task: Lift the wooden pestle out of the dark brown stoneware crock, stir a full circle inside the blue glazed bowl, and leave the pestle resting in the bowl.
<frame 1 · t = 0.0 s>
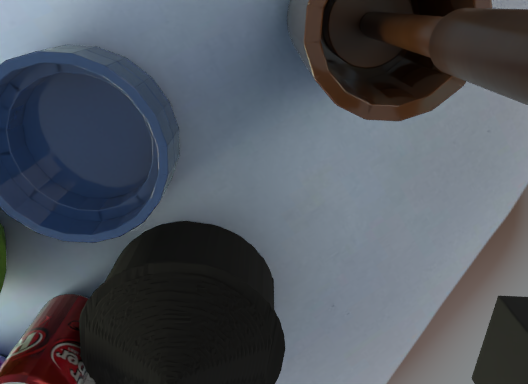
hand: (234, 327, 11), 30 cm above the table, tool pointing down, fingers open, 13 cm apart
bowl: (95, 134, 40), on the table
crock: (339, 17, 36), on the table
wooden pestle: (362, 22, 28), point 9 cm above the table, touching crock
soda can: (78, 316, 48), on the table
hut: (196, 291, 47), on the table
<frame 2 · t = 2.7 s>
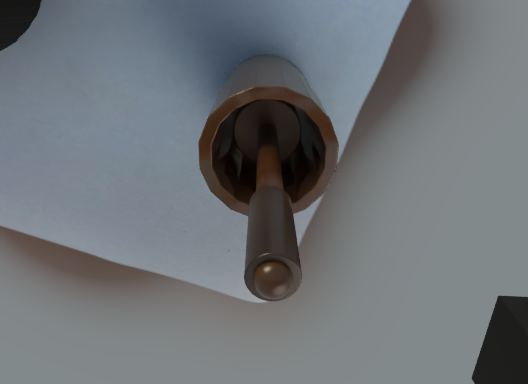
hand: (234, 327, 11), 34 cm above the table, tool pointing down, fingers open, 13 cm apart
crock: (266, 100, 43), on the table
wooden pestle: (267, 123, 34), point 9 cm above the table, touching crock
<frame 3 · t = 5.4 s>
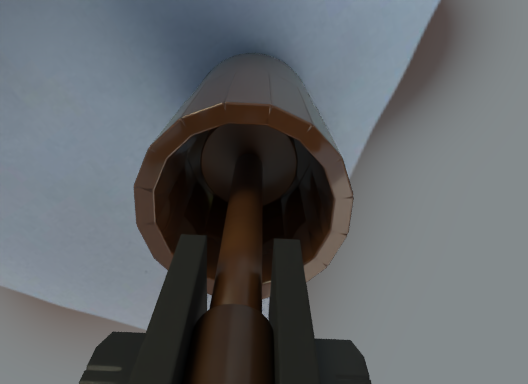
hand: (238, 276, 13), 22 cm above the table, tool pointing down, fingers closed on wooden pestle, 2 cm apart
crock: (252, 112, 33), on the table
wooden pestle: (250, 149, 25), point 9 cm above the table, touching gripper
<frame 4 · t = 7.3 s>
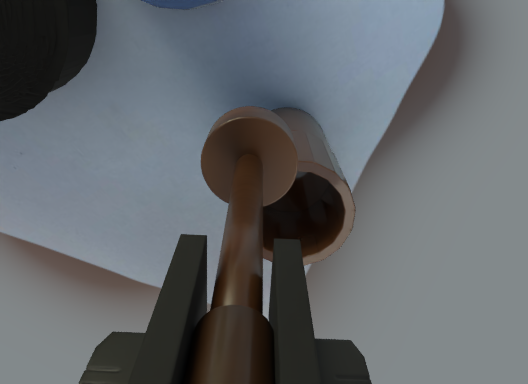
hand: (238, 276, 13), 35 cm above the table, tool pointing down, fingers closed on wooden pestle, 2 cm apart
crock: (285, 146, 48), on the table
wooden pestle: (250, 149, 25), point 22 cm above the table, touching gripper
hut: (8, 8, 42), on the table
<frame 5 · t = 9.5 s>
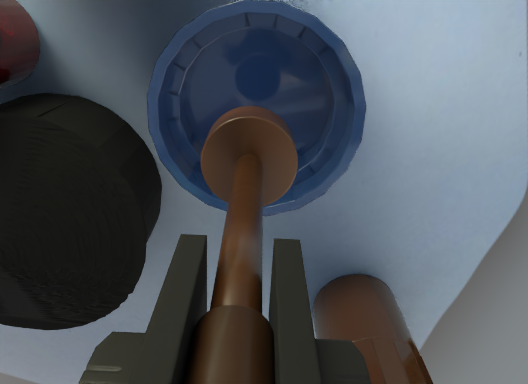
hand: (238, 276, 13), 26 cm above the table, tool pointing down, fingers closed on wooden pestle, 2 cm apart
bowl: (257, 101, 37), on the table
crock: (353, 308, 45), on the table
wooden pestle: (250, 149, 25), point 13 cm above the table, touching gripper
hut: (69, 188, 40), on the table
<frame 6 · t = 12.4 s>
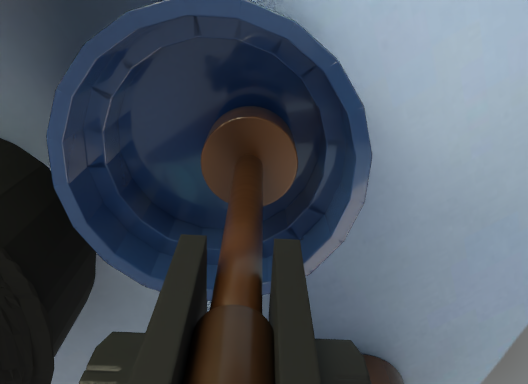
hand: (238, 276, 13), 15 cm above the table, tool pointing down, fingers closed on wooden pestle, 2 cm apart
bowl: (221, 136, 27), on the table
wooden pestle: (250, 149, 25), point 2 cm above the table, touching gripper
when the fingers open (13 cm above the table, at t = 13.9 s): wooden pestle stays where it is, resting on bowl.
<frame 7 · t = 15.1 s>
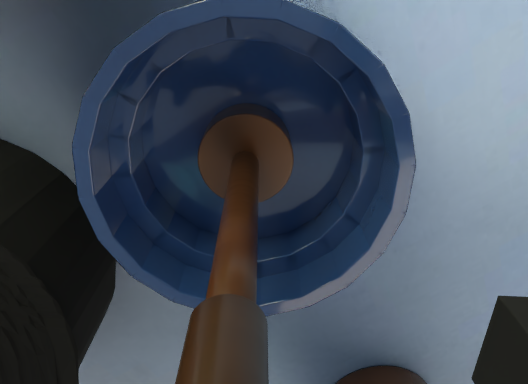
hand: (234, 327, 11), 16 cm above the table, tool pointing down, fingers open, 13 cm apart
bowl: (248, 143, 26), on the table
wooden pestle: (247, 146, 25), point 1 cm above the table, touching bowl
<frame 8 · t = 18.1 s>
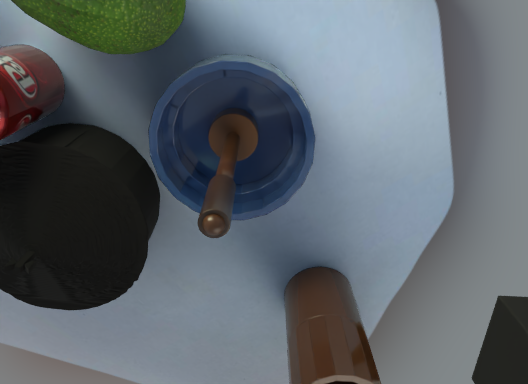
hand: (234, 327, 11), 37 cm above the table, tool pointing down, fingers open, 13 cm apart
bowl: (235, 129, 47), on the table
crock: (318, 295, 55), on the table
wooden pestle: (234, 131, 46), point 1 cm above the table, touching bowl
soda can: (32, 80, 45), on the table
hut: (85, 197, 50), on the table
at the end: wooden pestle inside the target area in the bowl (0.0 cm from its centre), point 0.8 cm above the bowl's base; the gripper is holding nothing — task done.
